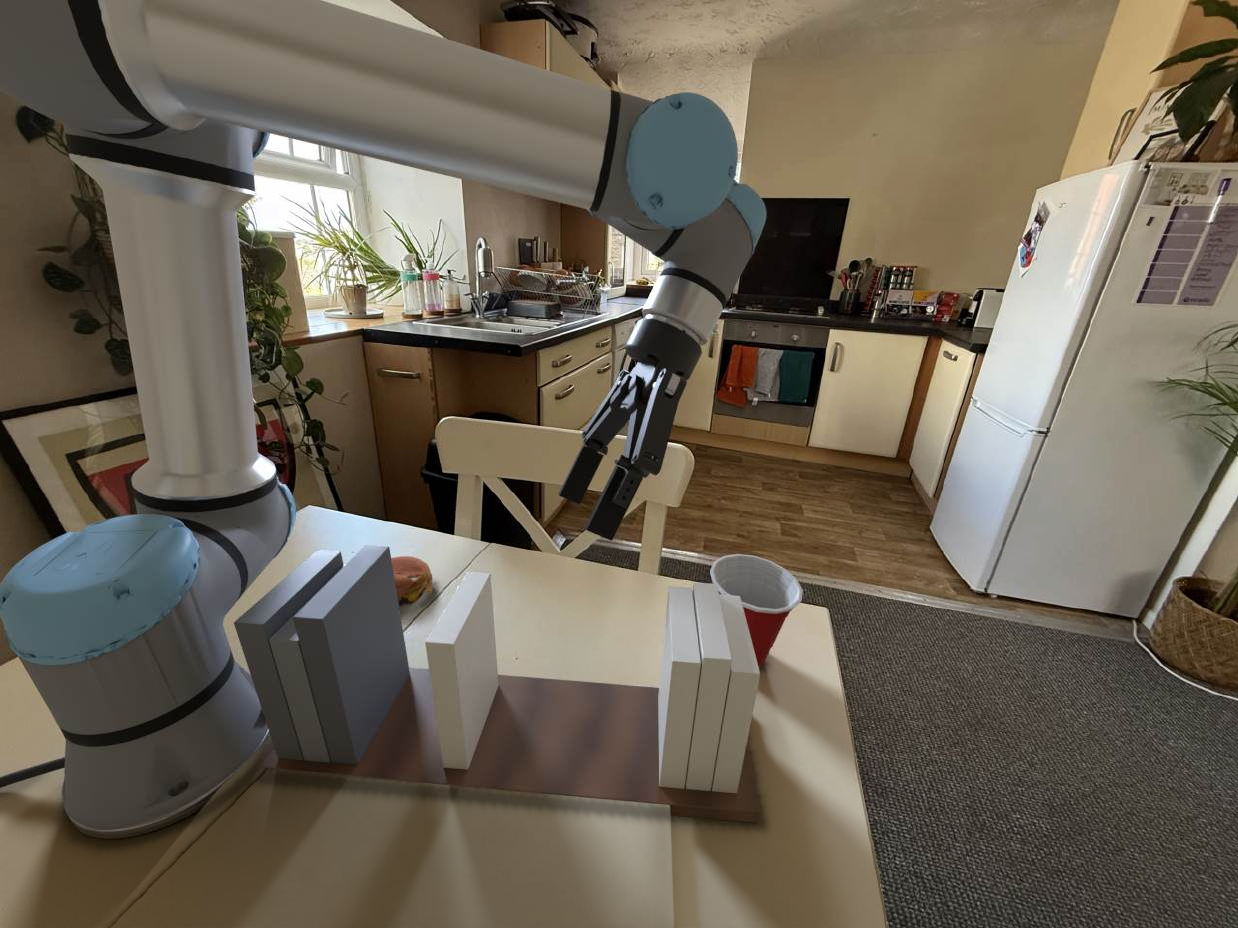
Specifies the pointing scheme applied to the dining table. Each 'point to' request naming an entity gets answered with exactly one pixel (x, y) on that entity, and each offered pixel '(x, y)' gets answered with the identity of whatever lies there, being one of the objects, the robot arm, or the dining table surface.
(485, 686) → the white book
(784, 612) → the plastic cup
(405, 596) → the burger
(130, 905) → the dining table surface
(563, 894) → the dining table surface
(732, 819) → the shelf board
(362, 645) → the grey books
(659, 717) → the white books
